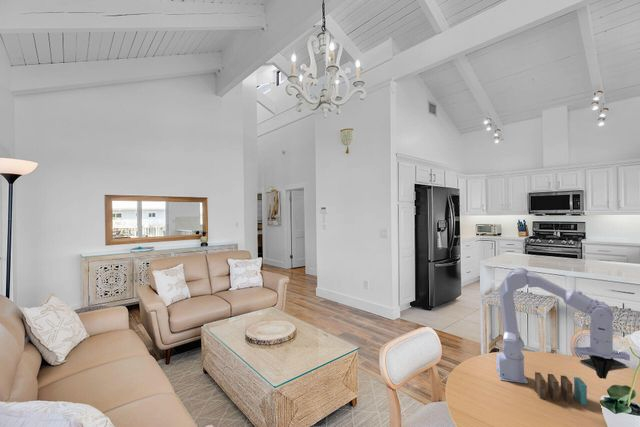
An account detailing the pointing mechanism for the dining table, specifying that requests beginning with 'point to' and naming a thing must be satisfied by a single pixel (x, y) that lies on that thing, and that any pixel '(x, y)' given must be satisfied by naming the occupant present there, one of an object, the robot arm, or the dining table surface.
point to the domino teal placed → (580, 391)
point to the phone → (590, 364)
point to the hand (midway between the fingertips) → (601, 377)
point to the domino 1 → (540, 385)
